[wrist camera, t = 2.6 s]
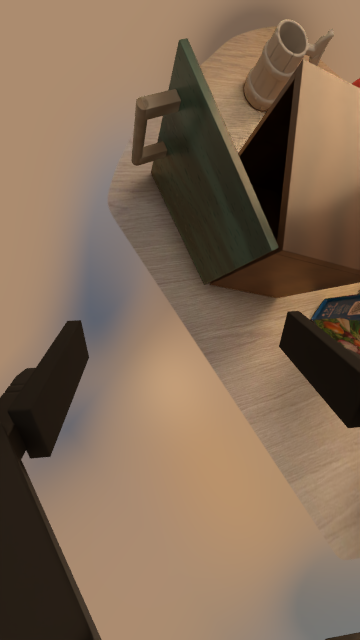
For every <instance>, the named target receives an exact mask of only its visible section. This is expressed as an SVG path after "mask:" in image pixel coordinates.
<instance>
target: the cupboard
mask: <svg viewBox="0 0 360 640" xmlns="http://www.w3.org/2000/svg"><path fill="white" fill-rule="evenodd" d="M238 155H239V157H240V160H241V162H242V164H243V166H244V169H245V171H246V173H247V176H248V178H249V180H250V183H251V185H252V187H253V189H254V192H255V194H256V196H257V199H258V201H259V203H260V205H261V208H262V210H263V212H264V215H265V217H266V219H267V221H268V224H269V226H270V228H271V231H272V233H273V235H274V237H275V240H276V242H277V244H278V247H279V248H277V249H275V250H273V251H271V252H269V253H267V254H265V255H263V256H261V257H259V258H257V259H255V260H253V261H251V262H249V263H247V264H245V265H243V266H241V267H239V268H237V269H235V270H233V271H231V272H229V273H227V274H225V275H223V276H221V277H219V278H217V279H215V280H213V281H211V282H210V285H214V286H219V287H224V288H229V289H234V290H239V291H244V292H249V293H254V294H259V295H264V296H269V297H274V298H280V297H285V296H290V295H295V294H301V293H306V292H311V291H316V290H322V289H327V288H332V287H338V286H343V285H348V284H353V283H359V282H360V88H358V87H356V86H354V85H353V84H351V83H349V82H347V81H345V80H343V79H341V78H339V77H337V76H335V75H333V74H331V73H329V72H327V71H326V70H324V69H322V68H320V67H318V66H316V65H314V64H312V63H310V62H308V61H306V60H304V59H303V60H302V61H301V63H300V64H299V66H298V67H297V69H296V70H295V71H294V73H293V74H292V76H291V77H290V79H289V80H288V82H287V83H286V85H285V86H284V87H283V89H282V90H281V92H280V93H279V95H278V96H277V98H276V99H275V101H274V102H273V103H272V105H271V106H270V108H269V109H268V111H267V112H266V114H265V115H264V117H263V118H262V119H261V121H260V122H259V124H258V125H257V127H256V128H255V130H254V131H253V133H252V134H251V135H250V137H249V138H248V140H247V141H246V143H245V144H244V146H243V147H242V149H241V150H240V152H239V153H238Z"/></svg>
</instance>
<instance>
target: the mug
mask: <svg viewBox="0 0 360 640" xmlns="http://www.w3.org/2000/svg"><path fill="white" fill-rule="evenodd" d="M333 36H334V32H333V30H332V29H331V30H330V31H328V34H327V35H326V36H323V37H321V38H320V39H319V40H318V41H317V42H316V43H315V44H314V45H312V44H308V38H307V36H306V33H305V31H304V30H303V28H302V27H301V26H300V25H299V24H298V23H297V22H295V21H292V20H288V19H286V20H283V21H281V22H280V23H279V25H278V26H277V28H276V30H275V31H274V33H273V35H272V37H271V39H269V40H268V41H267V43H266V44H265V46H264V48H263V52H262V55H261V56H260V58H259V60H258V62H257V63H256V65H255V66H254V67H253V68H252V69H251V70H250V72H249V74H248V76H247V79H246V83H245V88H244V92H245V96H246V98H247V100H248V101H249V102H250V103H251V105H252V106H253V107H254V108H255V109H257V110H259V109H260V110H261V111H264V110H267V109H269V108H270V106H271V105H272V103H273V102H274V101H275V99H276V98H277V96H278V95H279V93H280V92H281V90H282V89H283V87H284V86H285V85H286V83H287V82H288V80H289V79H290V77H291V76H292V74H293V73H294V71H295V70H296V69H297V67H298V65H299V63H300V61H301V60H302V58H303V57H304V55H308V56H310V58H309V62H310V63H312V64H314V65H316V66H317V65H318V63H319V60H320V58H321V56H322V54H323V52H324V51H325V48H326V46H327V44H328V42H329V41H330V40H331V38H332V37H333Z"/></svg>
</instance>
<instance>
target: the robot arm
mask: <svg viewBox="0 0 360 640" xmlns="http://www.w3.org/2000/svg"><path fill="white" fill-rule="evenodd" d="M279 347H280V348H281V349H282V350H283V352H284V353H285V354H286V355H287V356H288V358H289V359H290V360H291V361H292V362H293V364H294V365H295V366H296V367H297V368H298V369H299V371H300V372H301V373H302V374H303V375H304V377H305V378H306V379H307V380H308V381H309V383H310V384H311V385H312V386H313V387H314V388H315V390H316V391H317V392H318V393H319V394H320V396H321V397H322V398H323V399H324V400H325V401H326V403H327V404H328V405H329V406H330V407H331V409H332V410H333V411H334V412H335V413H336V415H337V416H338V417H339V418H340V419H341V420H342V422H343V423H344V424H345V425H346V426H347V428H354V427H360V355H359V354H358V353H356V352H354V351H352V350H350V349H348V348H347V349H346V348H345V347H344V346H342V345H341V344H340V343H339V342H337V341H336V340H335V339H334V338H332V337H331V336H330V335H328V334H327V333H326V332H325V331H323V330H322V329H321V328H320V327H318V326H317V325H316V324H314V323H313V322H312V321H311V320H309V319H308V318H307V317H306V316H304V315H303V314H302V313H301V312H299V311H291V312H288V313H287V317H286V321H285V325H284V329H283V333H282V337H281V341H280V345H279ZM88 358H89V355H88V351H87V347H86V342H85V337H84V333H83V328H82V324H81V321H80V320H79V321H67V323H66V324H65V326H64V327H63V329H62V330H61V331H60V333H59V335H58V336H57V337H56V339H55V340H54V342H53V343H52V345H51V346H50V348H49V349H48V351H47V352H46V354H45V356H44V357H43V358H42V360H41V361H40V363H39V364H38V366H37V367H36V368H27V369H25V370H24V371H23V372H21V373H20V374H19V375H17V376H16V377H15V379H14V380H13V382H12V383H11V384H10V386H9V387H8V388H7V390H6V391H5V393H3V395H2V396H1V398H0V640H101V638H100V635H99V633H98V631H97V629H96V626H95V624H94V622H93V620H92V617H91V615H90V613H89V611H88V609H87V606H86V604H85V602H84V599H83V597H82V595H81V593H80V591H79V588H78V586H77V584H76V582H75V580H74V578H73V575H72V573H71V570H70V568H69V566H68V564H67V562H66V559H65V557H64V555H63V553H62V550H61V548H60V546H59V543H58V541H57V539H56V537H55V534H54V532H53V530H52V528H51V525H50V523H49V521H48V519H47V516H46V514H45V512H44V510H43V507H42V505H41V503H40V501H39V498H38V496H37V494H36V492H35V489H34V487H33V485H32V483H31V481H30V478H29V476H28V474H27V472H26V469H25V467H24V465H23V463H22V461H21V458H22V457H23V455H24V453H25V451H27V453H28V454H29V457H30V458H40V457H50V456H51V453H52V451H53V448H54V446H55V443H56V441H57V438H58V435H59V433H60V430H61V428H62V425H63V422H64V420H65V417H66V415H67V412H68V410H69V407H70V404H71V402H72V399H73V397H74V394H75V392H76V389H77V387H78V384H79V382H80V379H81V376H82V374H83V371H84V368H85V366H86V364H87V361H88ZM325 640H360V632H359V633H354V634H349V635H343V636H339V637H333V638H328V639H325Z"/></svg>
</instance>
